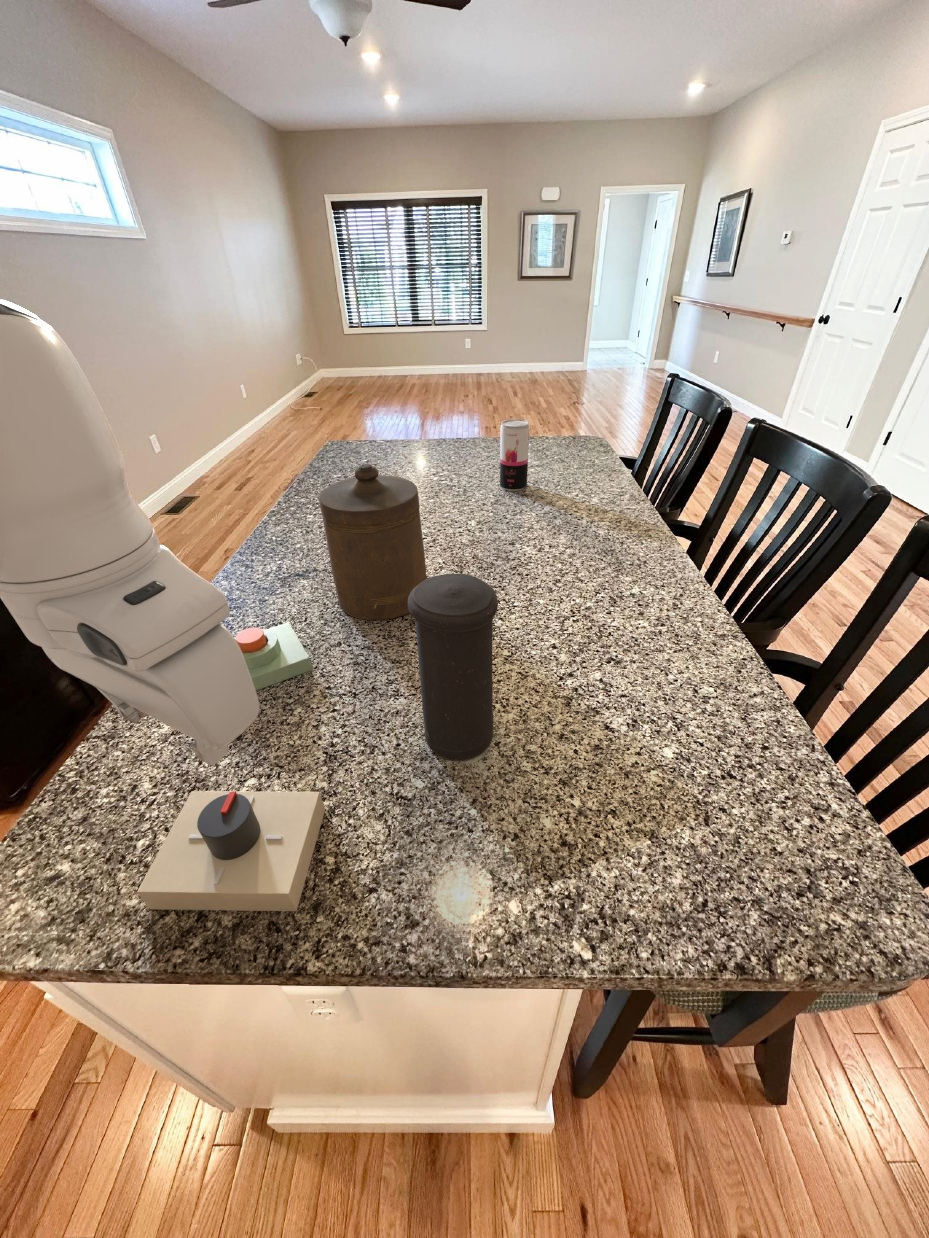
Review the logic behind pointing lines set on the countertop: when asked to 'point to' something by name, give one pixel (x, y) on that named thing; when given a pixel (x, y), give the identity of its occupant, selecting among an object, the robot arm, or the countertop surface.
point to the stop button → (251, 640)
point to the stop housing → (277, 657)
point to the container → (455, 662)
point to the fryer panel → (244, 882)
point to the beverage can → (514, 454)
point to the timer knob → (229, 826)
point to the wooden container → (374, 542)
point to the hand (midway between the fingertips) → (174, 734)
